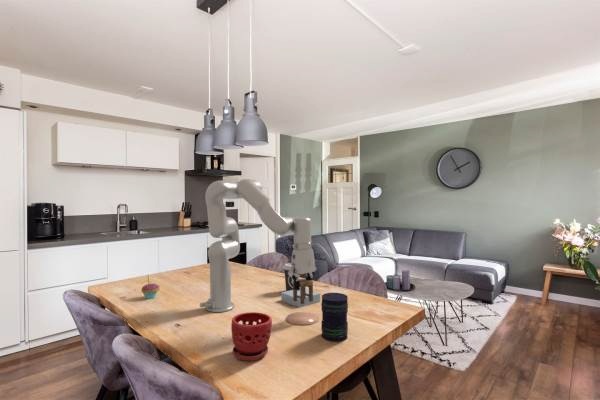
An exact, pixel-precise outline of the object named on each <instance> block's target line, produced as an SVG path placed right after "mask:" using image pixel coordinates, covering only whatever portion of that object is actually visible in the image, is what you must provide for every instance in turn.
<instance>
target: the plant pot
mask: <svg viewBox="0 0 600 400" xmlns="http://www.w3.org/2000/svg"><path fill="white" fill-rule="evenodd" d="M272 319H273V318H272V316H270V315H268V314H266V313H262V312H243V313H239V314H236V315H234V316H233V317H232V319H231V325H230V327H231V328H230V329H231V337H232V338H231V339H232V343H233V348H232V354H233V355H234V356H235V358H237V359H239V360H241V361H247V362H248V361H256V360H259V359H261V358H264V357H265V356H266V355H267V354H268V351H269V347H268V344H269V341H270V338H271V333H272V327H273V325H272V323H273V320H272ZM240 322H242V323H240ZM247 322H248V323H247ZM254 322H255V324H254Z"/></svg>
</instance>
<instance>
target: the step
mask: <svg viewBox="0 0 600 400" xmlns="http://www.w3.org/2000/svg"><path fill="white" fill-rule="evenodd" d="M280 293H281V295H280V297H281V299H280V300H281V301H282V302H284V303H287V304H290V305H291V306H294V307H297V308H301V307H307V306H309V305H312V304H317V303H321V293H320V292H318V291H317V292H316V291H314V290H313V301H312V302H310V301H309V297H308V296H306V299H304V304H300V299H299V298H297V301H293V290H290V291H286V290H285V291H282V292H280ZM306 293H307V294H309V288H306ZM297 295H298V296H300V290H299V291H298V290H297Z"/></svg>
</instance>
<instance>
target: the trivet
mask: <svg viewBox="0 0 600 400" xmlns="http://www.w3.org/2000/svg"><path fill="white" fill-rule="evenodd" d="M285 319H286V320H285V321H286V322H288V323H289V324H292V325H296V326H308V325H309V326H310V325H314V324H316V323H317V322H319V316H318V315H317V314H315V313H311V312H306V311H299V312H292V313H290V314H288V315H286V317H285Z"/></svg>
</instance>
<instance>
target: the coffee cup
mask: <svg viewBox="0 0 600 400" xmlns="http://www.w3.org/2000/svg"><path fill="white" fill-rule="evenodd" d="M282 268H283V271H284V281H285V282H284V283H285V292H286V291H290V290H293V281H294V280H293V279H292V278H291V277H290V276H289V274H288V272H289V270H290V269H291V262H289V263H285V264H284V266H283V267H282ZM293 275H294V273H293ZM296 277H297V275H296Z"/></svg>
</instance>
